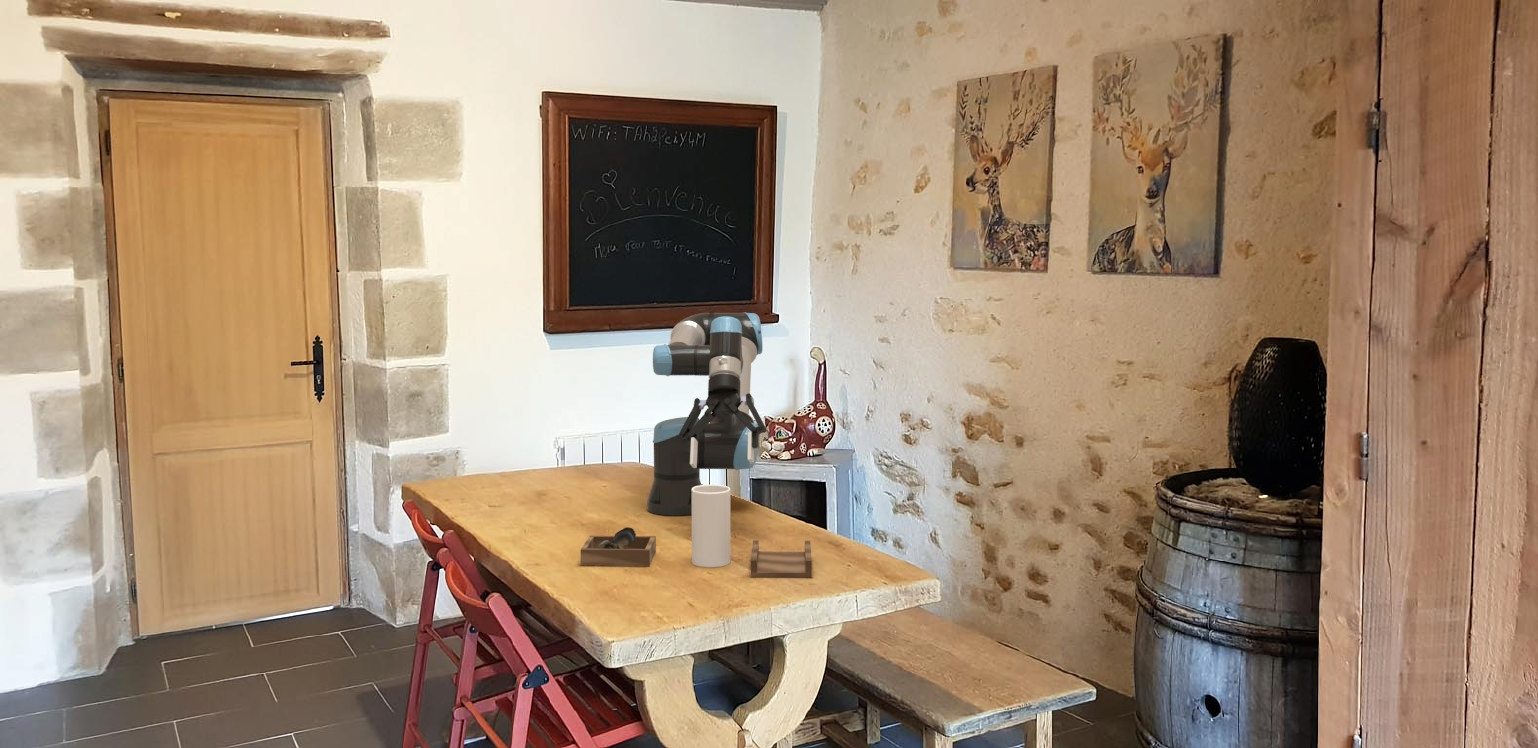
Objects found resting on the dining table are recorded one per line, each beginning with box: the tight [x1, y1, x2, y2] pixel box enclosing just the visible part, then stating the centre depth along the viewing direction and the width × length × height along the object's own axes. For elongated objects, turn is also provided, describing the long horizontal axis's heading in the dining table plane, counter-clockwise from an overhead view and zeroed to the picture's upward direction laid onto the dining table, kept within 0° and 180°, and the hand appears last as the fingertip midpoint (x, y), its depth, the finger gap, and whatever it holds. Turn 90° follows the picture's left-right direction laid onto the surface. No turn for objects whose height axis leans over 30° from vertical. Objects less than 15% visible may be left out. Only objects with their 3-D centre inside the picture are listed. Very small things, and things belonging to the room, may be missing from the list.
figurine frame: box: [580, 535, 657, 567], centre depth 246 cm, size 12×14×4 cm
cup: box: [691, 484, 731, 568], centre depth 243 cm, size 8×8×16 cm
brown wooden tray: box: [750, 539, 813, 579], centre depth 240 cm, size 16×12×4 cm
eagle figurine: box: [599, 527, 637, 549], centre depth 245 cm, size 8×7×9 cm
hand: (721, 464), depth 259 cm, fingers open, 13 cm apart
